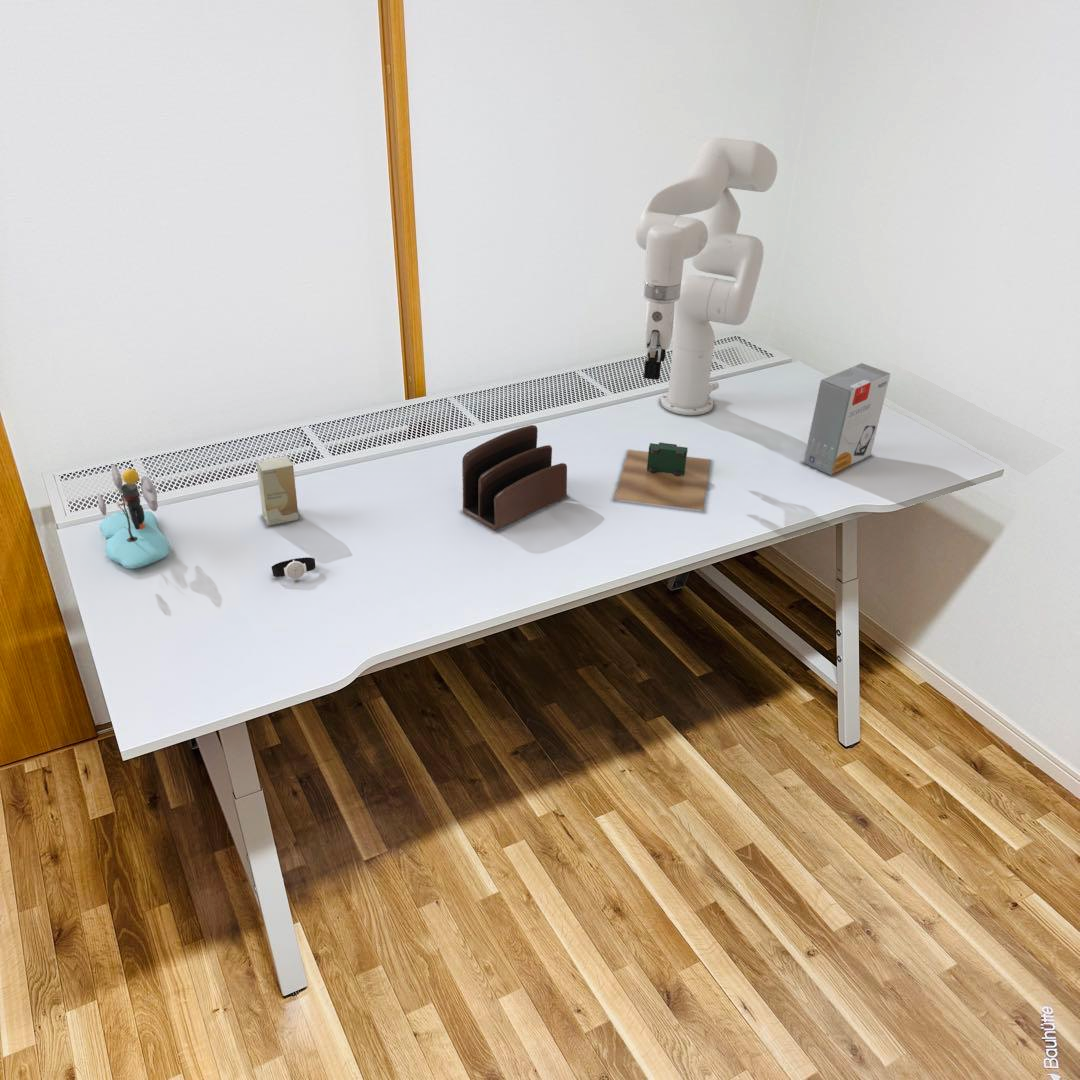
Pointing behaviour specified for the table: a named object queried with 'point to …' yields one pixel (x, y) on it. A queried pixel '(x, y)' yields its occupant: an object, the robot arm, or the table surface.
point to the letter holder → (510, 478)
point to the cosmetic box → (277, 490)
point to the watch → (293, 567)
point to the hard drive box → (846, 418)
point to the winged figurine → (133, 524)
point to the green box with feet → (667, 458)
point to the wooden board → (663, 483)
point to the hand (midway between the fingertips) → (654, 369)
